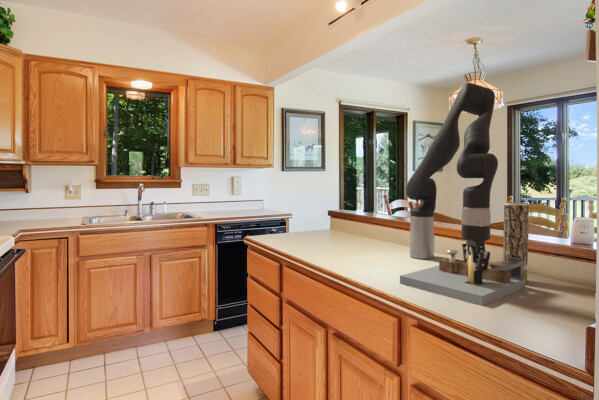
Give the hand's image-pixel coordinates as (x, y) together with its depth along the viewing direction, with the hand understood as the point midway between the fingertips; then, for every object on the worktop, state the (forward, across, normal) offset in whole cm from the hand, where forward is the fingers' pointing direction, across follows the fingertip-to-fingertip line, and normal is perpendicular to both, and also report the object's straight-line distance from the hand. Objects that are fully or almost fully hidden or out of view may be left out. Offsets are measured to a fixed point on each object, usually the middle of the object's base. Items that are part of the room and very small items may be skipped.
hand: (474, 281), depth 107 cm
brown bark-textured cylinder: (+3, -12, +17) cm, 21 cm away
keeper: (+3, -2, +10) cm, 11 cm away
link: (0, -8, +3) cm, 9 cm away
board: (+3, -6, -2) cm, 7 cm away
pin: (+1, 0, 0) cm, 1 cm away
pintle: (+3, -14, -2) cm, 14 cm away
